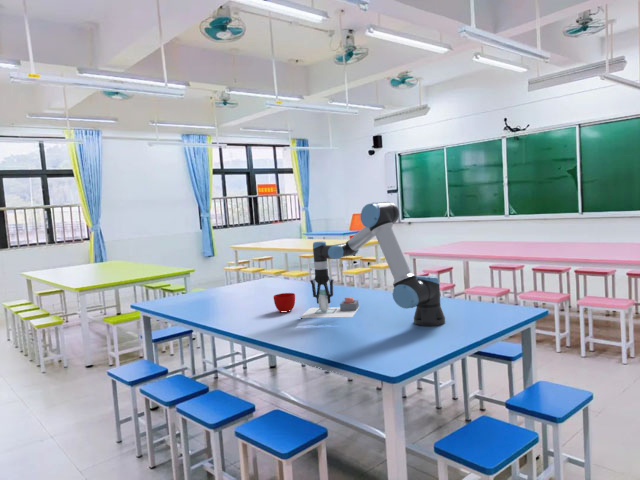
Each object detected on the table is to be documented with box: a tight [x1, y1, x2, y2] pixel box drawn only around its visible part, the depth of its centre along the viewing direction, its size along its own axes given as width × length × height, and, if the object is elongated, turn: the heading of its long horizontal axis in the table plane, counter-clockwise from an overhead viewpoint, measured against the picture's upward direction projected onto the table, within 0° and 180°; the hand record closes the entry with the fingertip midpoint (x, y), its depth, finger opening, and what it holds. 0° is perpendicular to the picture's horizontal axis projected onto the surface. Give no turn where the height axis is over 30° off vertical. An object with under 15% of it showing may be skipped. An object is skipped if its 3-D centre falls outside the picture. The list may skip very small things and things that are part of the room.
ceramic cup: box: [273, 292, 296, 312], centre depth 279 cm, size 13×17×10 cm
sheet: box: [298, 306, 360, 319], centre depth 262 cm, size 24×30×1 cm
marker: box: [319, 288, 328, 311], centre depth 264 cm, size 4×4×12 cm
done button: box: [344, 296, 354, 303], centre depth 266 cm, size 5×5×4 cm
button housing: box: [339, 299, 360, 312], centre depth 266 cm, size 9×9×4 cm
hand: (324, 308), depth 265 cm, fingers closed on marker, 4 cm apart
